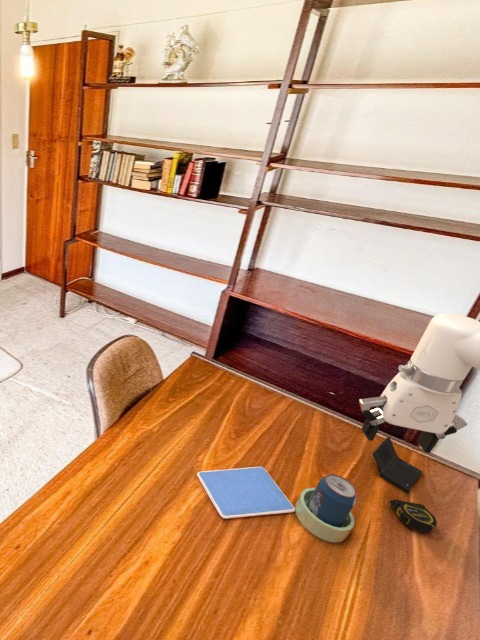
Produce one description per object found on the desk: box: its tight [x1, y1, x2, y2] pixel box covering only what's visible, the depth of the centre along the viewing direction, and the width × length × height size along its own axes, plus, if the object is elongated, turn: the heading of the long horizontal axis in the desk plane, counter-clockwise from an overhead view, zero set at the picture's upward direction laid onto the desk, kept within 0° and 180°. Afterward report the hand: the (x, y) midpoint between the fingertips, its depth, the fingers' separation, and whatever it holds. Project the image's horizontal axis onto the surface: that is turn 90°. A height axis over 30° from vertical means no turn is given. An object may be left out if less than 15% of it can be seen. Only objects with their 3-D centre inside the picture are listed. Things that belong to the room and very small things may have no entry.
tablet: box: [196, 466, 295, 520], centre depth 99 cm, size 19×13×1 cm, turn 97°
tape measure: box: [389, 498, 438, 534], centre depth 94 cm, size 7×7×4 cm
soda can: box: [306, 473, 358, 528], centre depth 91 cm, size 7×7×12 cm
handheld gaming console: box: [372, 436, 423, 493], centre depth 106 cm, size 12×7×10 cm
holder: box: [294, 487, 355, 544], centre depth 93 cm, size 10×10×4 cm
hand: (394, 441), depth 82 cm, fingers open, 9 cm apart
